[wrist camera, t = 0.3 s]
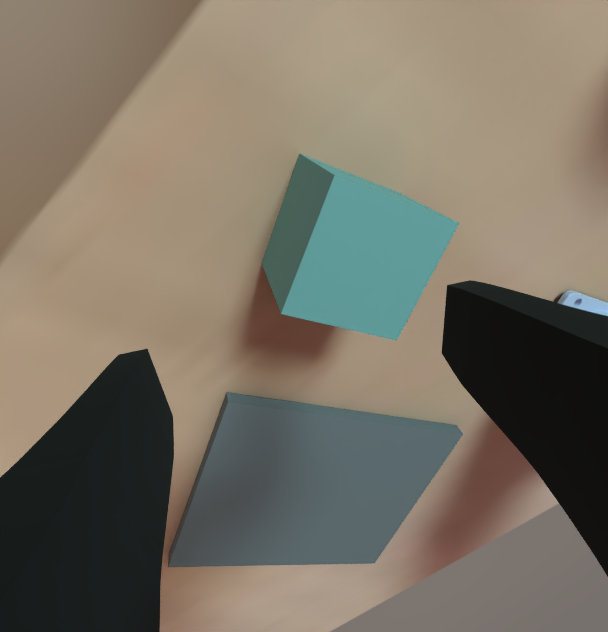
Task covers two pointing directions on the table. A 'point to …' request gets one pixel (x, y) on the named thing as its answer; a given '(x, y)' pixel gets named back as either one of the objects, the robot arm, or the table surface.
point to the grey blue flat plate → (305, 484)
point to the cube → (352, 251)
